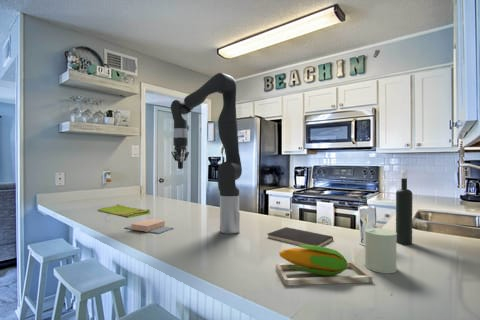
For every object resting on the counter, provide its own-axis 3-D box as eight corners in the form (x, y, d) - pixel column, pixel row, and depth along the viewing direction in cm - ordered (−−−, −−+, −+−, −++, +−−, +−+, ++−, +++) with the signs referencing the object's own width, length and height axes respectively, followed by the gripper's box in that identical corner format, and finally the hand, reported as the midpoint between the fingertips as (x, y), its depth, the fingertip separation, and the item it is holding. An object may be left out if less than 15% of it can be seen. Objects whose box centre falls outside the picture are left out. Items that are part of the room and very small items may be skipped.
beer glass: (365, 247, 105) (366, 209, 105) (353, 242, 112) (354, 206, 112) (380, 245, 107) (380, 208, 107) (367, 240, 113) (367, 205, 113)
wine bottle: (393, 242, 111) (393, 170, 111) (398, 239, 115) (399, 169, 114) (409, 246, 106) (409, 170, 106) (414, 243, 110) (414, 170, 110)
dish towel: (128, 218, 157) (128, 213, 157) (97, 211, 177) (97, 206, 177) (150, 214, 169) (150, 209, 169) (118, 208, 190) (118, 203, 190)
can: (358, 262, 90) (359, 226, 90) (385, 261, 90) (385, 226, 90) (374, 273, 81) (374, 234, 80) (403, 273, 81) (404, 233, 81)
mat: (173, 228, 132) (173, 227, 132) (159, 233, 123) (159, 232, 123) (140, 224, 141) (140, 223, 141) (124, 228, 132) (124, 227, 132)
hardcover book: (316, 250, 102) (316, 244, 102) (267, 238, 117) (267, 233, 117) (333, 241, 114) (333, 236, 114) (286, 231, 129) (286, 226, 129)
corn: (351, 258, 74) (278, 247, 79) (348, 283, 75) (276, 271, 80) (347, 246, 81) (280, 236, 86) (344, 269, 82) (279, 259, 87)
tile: (164, 220, 135) (147, 226, 124) (164, 226, 135) (147, 231, 124) (149, 218, 139) (131, 223, 128) (149, 224, 139) (131, 229, 128)
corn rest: (351, 266, 86) (351, 261, 86) (372, 282, 75) (372, 276, 75) (275, 268, 84) (275, 263, 84) (284, 285, 73) (284, 280, 73)
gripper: (182, 138, 154) (182, 168, 155) (167, 136, 142) (166, 169, 143) (193, 137, 151) (193, 168, 151) (178, 136, 139) (178, 169, 139)
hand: (180, 168), depth 147 cm, fingers closed
